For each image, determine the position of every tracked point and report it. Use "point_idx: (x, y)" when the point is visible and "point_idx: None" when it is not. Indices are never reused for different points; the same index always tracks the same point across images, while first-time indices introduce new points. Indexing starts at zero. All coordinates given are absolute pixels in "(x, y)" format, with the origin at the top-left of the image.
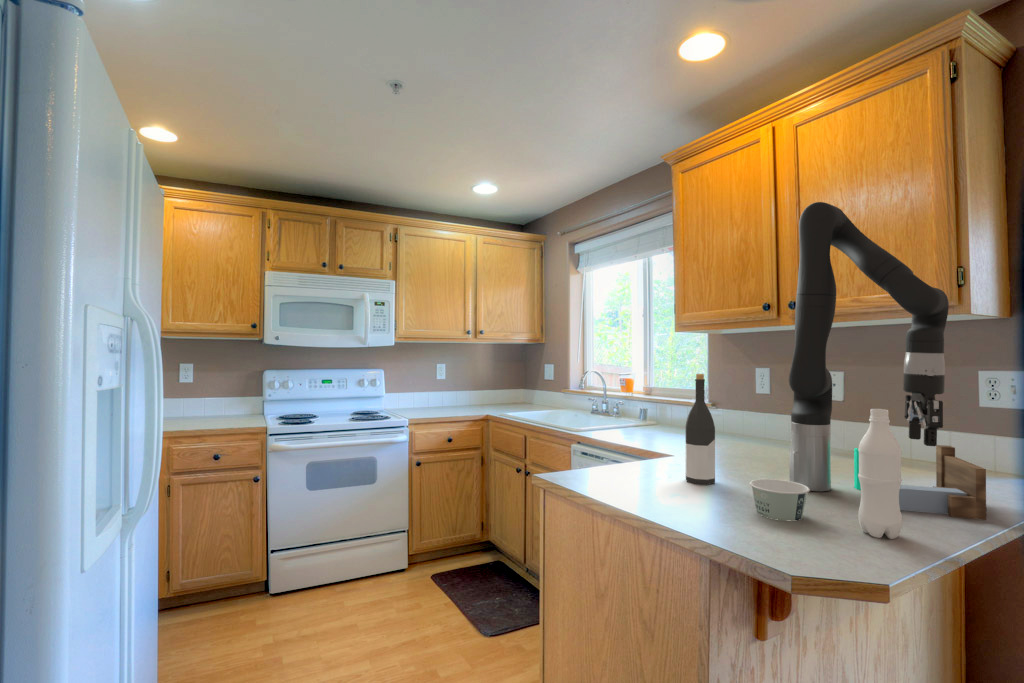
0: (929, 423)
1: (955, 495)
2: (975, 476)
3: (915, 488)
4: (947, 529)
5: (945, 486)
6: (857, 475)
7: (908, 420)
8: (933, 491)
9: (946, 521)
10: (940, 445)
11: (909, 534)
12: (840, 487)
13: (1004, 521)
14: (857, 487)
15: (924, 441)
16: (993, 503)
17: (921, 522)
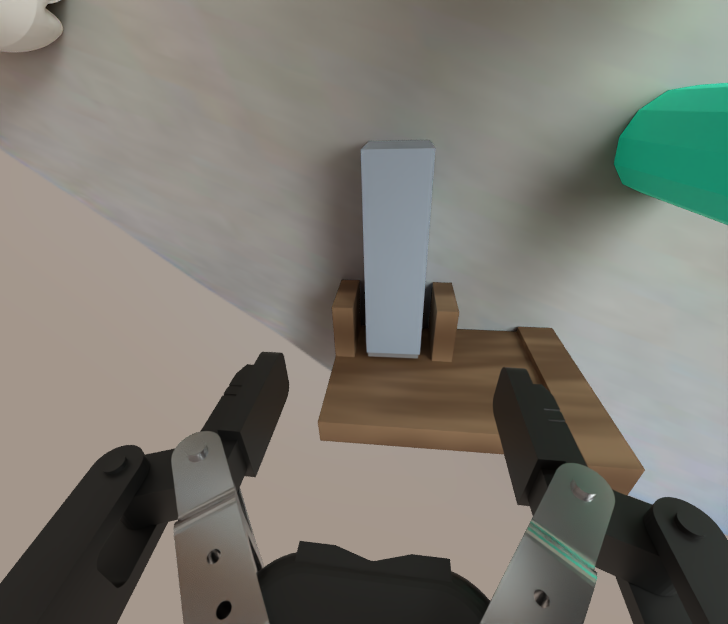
0: (93, 474)
1: (349, 323)
2: (325, 400)
3: (383, 238)
4: (215, 223)
5: (518, 357)
6: (713, 89)
7: (575, 483)
8: (365, 280)
9: (292, 251)
10: (633, 478)
11: (98, 96)
12: (716, 6)
13: None
14: (671, 91)
15: (260, 362)
16: None
17: (249, 180)
